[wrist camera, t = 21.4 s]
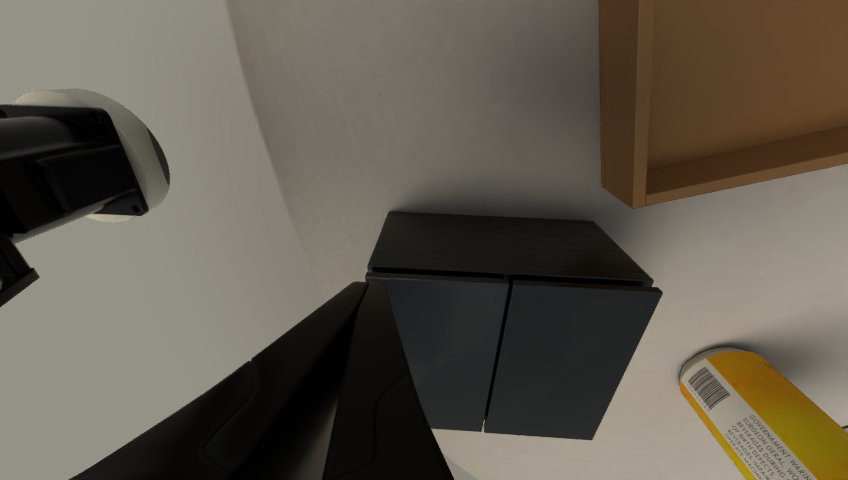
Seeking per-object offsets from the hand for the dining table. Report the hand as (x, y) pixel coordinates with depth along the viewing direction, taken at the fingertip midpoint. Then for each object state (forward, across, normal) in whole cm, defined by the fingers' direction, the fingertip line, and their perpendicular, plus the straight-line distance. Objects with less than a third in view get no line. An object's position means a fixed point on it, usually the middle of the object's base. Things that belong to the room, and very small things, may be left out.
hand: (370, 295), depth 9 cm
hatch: (+5, -2, +8) cm, 10 cm away
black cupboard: (+12, -5, +8) cm, 15 cm away
